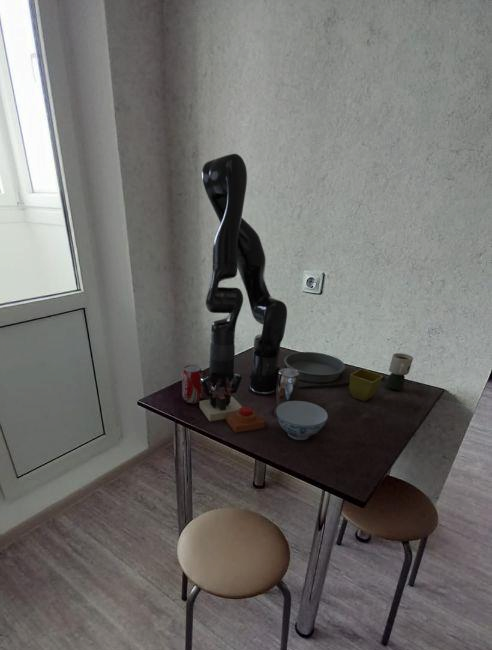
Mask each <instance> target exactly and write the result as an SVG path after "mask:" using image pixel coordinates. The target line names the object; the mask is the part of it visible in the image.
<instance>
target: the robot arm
mask: <svg viewBox="0 0 492 650" xmlns="http://www.w3.org/2000/svg"><path fill="white" fill-rule="evenodd" d="M201 180H202V185H203V187H204V190H205V193H206V196H207V198H208V200H209V202H210V204H211V207H212V208H213V210H214V212H215V215H216V217H217V218H218V220H219V223H220V225H219V227H218V229H217V231H216V233H215V236H214V240H213V244H212V253H211V254H212V257H211V259H212V261H211V262H212V263H211V265H212V266H211V277H210V282H209V286H208V289H207V293H206V295H205V307H206V310H208V312H210V313H211V314H228V315H227V316H226V317H225V318H221V319H217V320H214V321H213V322H212V323H211V327H210V328H211V329H210V334H211V335H210V345H209V367H208V369H209V370H208V371H209V372H208V374H207V376H206V377H203V378H201V379H200V382H201V385H202V387H203V393H204V394H205V396H206V397H207V398H209V400H210V404H211V406H212V407H213V408H216V394H217V392H219V389H220V388H223V389H224V392H225V393H224V395H223V396H224V397H225V398H226V406H228V405H229V404H230V398H231V395H232V394H236V393H237V392H238V389H239V386H240V384H241V382H242V379H243V376H242V375H240V374H239V373H238V372H237V373H235V372H234V369H235V355H236V347H235V337H236V326H237V322H238V320H239V319H238V318H239V315H240V312H241V310H242V307H243V304H244V294H243V292H242V290H241V289H240V288H238V287H229V286H227V287H225V286H219V285H220V283H221V282H223V281H225V280H230V279H231V280H232V279H234V278H236V277H237V275H238V273H239V275H240V278H241V281H242V284H243V287H244V288H245V291H246V292H245V293H246V296H247V299H248V302H249V307H250V311H251V314H252V317H253V318H254V320H255V321H256V322H257V323H259V324H261V325H262V329H261V333H259V334H257V335H255V336H254V339H253V349H252V352H253V353H252V363H251V374H250V375H249V379H250V385H249V390H250V392H252V393H253V394H256V395H260V396H269V395H273V394H274V393H276V382H277V376H278V371H279V370H280V369H281V367H280V366H279V360H280V352H281V344H282V341H283V339H284V336H285V332H286V327H287V319H288V308H287V305H286V304H285V302H283V301H282V300H280V299H277V298H274V297H272V295H271V294H270V291H269V289H268V287H267V284H266V279H265V273H266V265H267V262H266V261H267V258H266V254H265V250H264V247H263V243H262V241H261V238H260V236H259V234H258V232H257V231H256V230H255V229H254V227H252V225H250V224H249V222H247V220H246V219H244V217H243V211H244V205H245V199H246V193H247V185H248V170H247V165H246V163H245V161H244V158H242V156H241V155H240V154H238V153H230V154H227V155H224V156H220V157H217V158H215V159H211V160H208V161H207V162H205V163H204V164H203V165H202V170H201ZM382 380H385V376H383V378H382ZM209 382H210V383H211V384H210V389H209ZM231 382H232V383H231ZM349 384H350V381H349V382H342V383H334V384H314V385H312V384H311V385H304V386H303V385H302V386H298V389H309V388H331V387H341V386H347V385H348V386H349Z"/></svg>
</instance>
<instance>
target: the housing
mask: <svg viewBox="0 0 492 650" xmlns="http://www.w3.org/2000/svg"><path fill="white" fill-rule="evenodd" d="M225 421H226V423H227V424H228V425H229V427H230V428H231V429H232V430H233V431H234V432H235V433H241V432H247V431H252V430H259V429H264V428H266V421H265V420H264V418H262V416H260V414H259V413H258V412H256V410H254V409H252V414H251V416H242V415H240V409H238V410H236V412H235V413H233V414H227V415H226V419H225Z"/></svg>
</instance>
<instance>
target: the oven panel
mask: <svg viewBox="0 0 492 650" xmlns="http://www.w3.org/2000/svg"><path fill="white" fill-rule="evenodd" d="M241 407H243V406H242V405H241V403H239V402H238V400H236V398H235V397H233V396H231V398H230V404H229V405H228V406H226V410H222V411H221V410H220V409H219V408H218V407H217V406H216V408H213V407H212V406H211V404H210V399H204V400H203V399H202V400H201V401H199V409H200V410H201V411H202V413H203V414H204V415H205V417H206V418H207V420H208V421H209V422H215V421H220V420H226V415H227V414H233V413H235V412H236V410H238V409H240V408H241Z"/></svg>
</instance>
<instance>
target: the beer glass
mask: <svg viewBox="0 0 492 650" xmlns="http://www.w3.org/2000/svg"><path fill="white" fill-rule="evenodd" d="M299 380H300V379H299V372H298V371H297V370H294V369H289V368H287V367H286V368H285V367H284V368H280V370H279V371H278V376H277V382H276V392H275V398H276V404H275V408H274V410H273V414H274V416H276V417H277V407H278V406H279V405H280V404H282V403H285V402H289V401H295V400H296V399H295V398H296V395H297V393H298V389H299V388H298V387H299Z"/></svg>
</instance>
